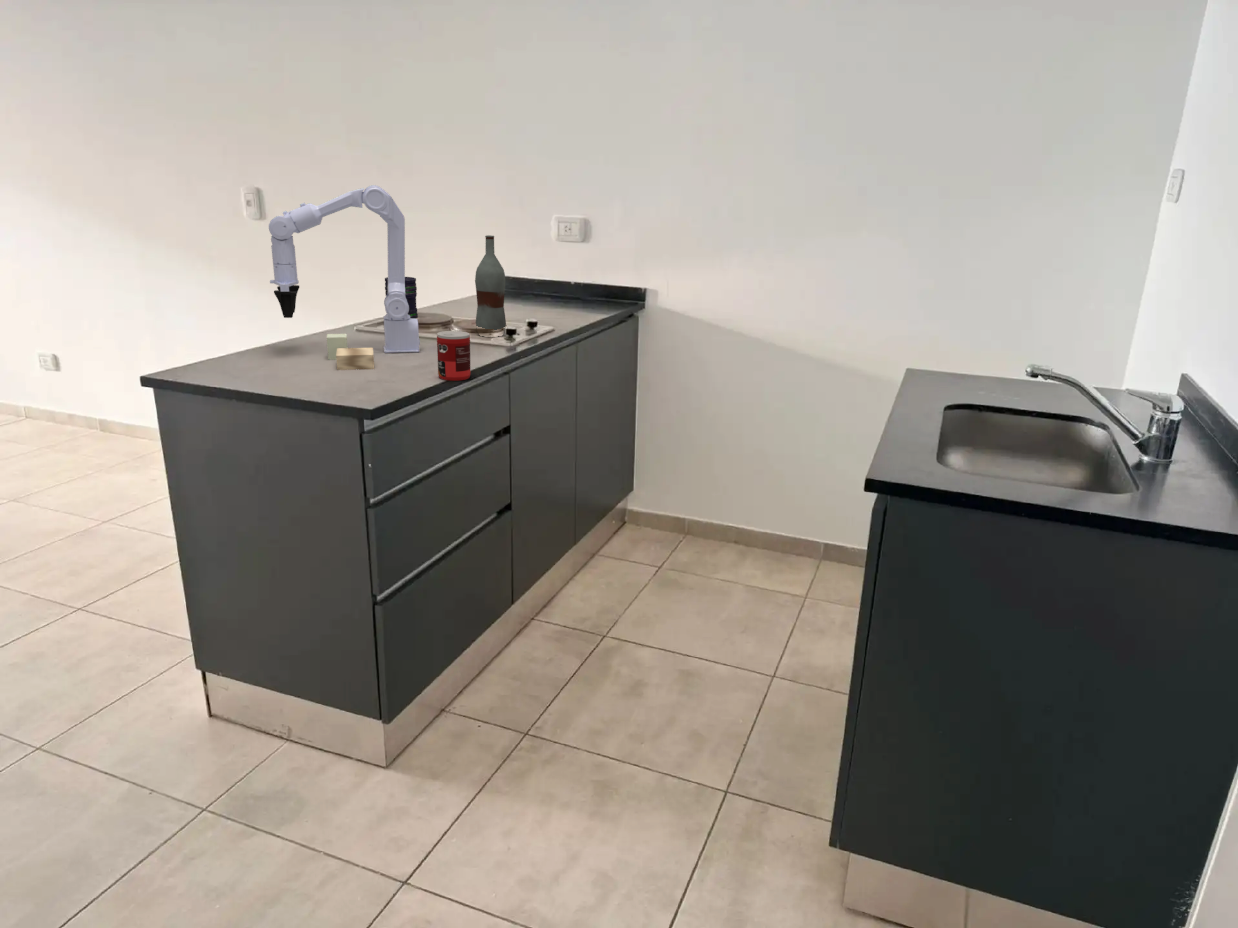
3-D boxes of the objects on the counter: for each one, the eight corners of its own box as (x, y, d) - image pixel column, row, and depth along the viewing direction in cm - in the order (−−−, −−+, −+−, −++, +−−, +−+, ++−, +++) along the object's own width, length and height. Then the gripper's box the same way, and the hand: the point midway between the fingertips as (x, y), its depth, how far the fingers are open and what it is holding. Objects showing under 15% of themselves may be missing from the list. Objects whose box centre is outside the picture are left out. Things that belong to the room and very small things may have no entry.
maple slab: (373, 362, 224) (373, 347, 223) (374, 370, 216) (373, 354, 214) (338, 363, 221) (337, 348, 220) (337, 371, 213) (336, 355, 212)
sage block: (348, 355, 229) (346, 333, 227) (348, 359, 225) (346, 337, 223) (328, 356, 228) (327, 334, 226) (328, 360, 223) (326, 337, 221)
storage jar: (413, 328, 269) (411, 281, 264) (383, 327, 269) (380, 279, 264) (421, 323, 278) (419, 277, 273) (391, 322, 278) (389, 276, 273)
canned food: (440, 373, 214) (438, 330, 210) (471, 374, 215) (471, 331, 211) (436, 380, 207) (434, 336, 203) (469, 381, 207) (468, 336, 204)
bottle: (486, 339, 258) (484, 237, 248) (470, 334, 264) (468, 234, 254) (511, 336, 264) (511, 236, 254) (495, 331, 270) (494, 234, 260)
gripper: (270, 260, 228) (275, 310, 232) (265, 266, 215) (270, 320, 219) (298, 260, 230) (303, 310, 234) (295, 266, 217) (299, 319, 221)
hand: (289, 315), depth 227 cm, fingers open, 7 cm apart
